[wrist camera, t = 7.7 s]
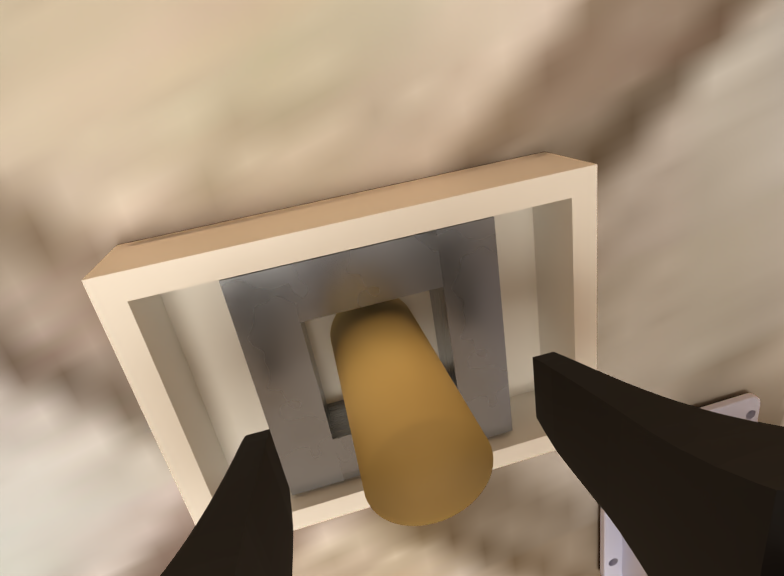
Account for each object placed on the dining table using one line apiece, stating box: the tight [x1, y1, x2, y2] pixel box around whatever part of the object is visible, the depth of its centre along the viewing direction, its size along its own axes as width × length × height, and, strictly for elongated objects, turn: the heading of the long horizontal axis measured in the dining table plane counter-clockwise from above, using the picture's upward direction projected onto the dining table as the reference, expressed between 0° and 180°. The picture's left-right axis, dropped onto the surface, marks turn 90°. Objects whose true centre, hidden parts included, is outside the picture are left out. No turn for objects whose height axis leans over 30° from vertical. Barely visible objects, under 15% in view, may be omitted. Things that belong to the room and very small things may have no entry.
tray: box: [81, 152, 597, 530], centre depth 16 cm, size 10×14×3 cm
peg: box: [330, 298, 493, 526], centre depth 14 cm, size 3×3×7 cm
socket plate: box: [219, 216, 513, 496], centre depth 16 cm, size 8×8×2 cm
